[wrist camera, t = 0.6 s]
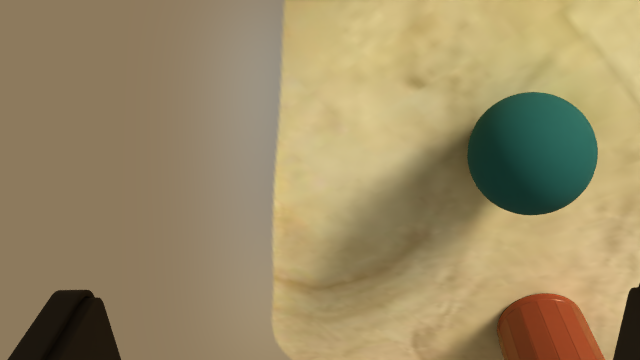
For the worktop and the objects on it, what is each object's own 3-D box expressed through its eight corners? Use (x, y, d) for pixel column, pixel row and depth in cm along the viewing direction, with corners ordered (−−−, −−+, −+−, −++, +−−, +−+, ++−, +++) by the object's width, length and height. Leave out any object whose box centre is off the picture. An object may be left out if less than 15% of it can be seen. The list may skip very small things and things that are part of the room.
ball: (458, 81, 31) (479, 128, 25) (578, 69, 30) (625, 115, 25) (459, 182, 33) (478, 243, 28) (569, 173, 33) (610, 234, 28)
